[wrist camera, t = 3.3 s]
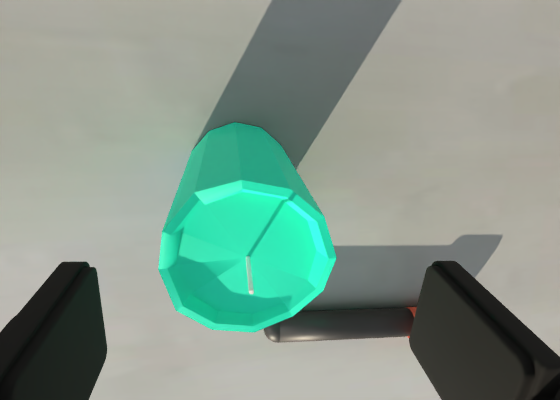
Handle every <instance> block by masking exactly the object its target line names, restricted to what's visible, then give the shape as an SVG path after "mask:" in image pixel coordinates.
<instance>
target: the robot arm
mask: <svg viewBox="0 0 560 400" xmlns="http://www.w3.org/2000/svg"><path fill="white" fill-rule="evenodd" d="M409 343H410V347H411V349H412V351H413V353H414V355H415V356H416V358H417V360H418V361H419V363H420V365H421V366H422V368H423V370H424V371H425V373H426V375H427V376H428V378H429V380H430V381H431V383H432V384H433V386H434V388H435V389H436V391H437V393H438V394H439V396H440V398H441V399H442V400H560V357H559V356H558V355H557V354H556V353H555V352H554V351H553V350H551V349H550V348H549V347H548V346H547V345H546V344H545V343H544V342H543V341H542V340H541V339H540V338H538V337H537V336H536V335H535V334H534V333H533V332H532V331H531V330H530V329H529V328H528V327H527V326H525V325H524V324H523V323H522V322H521V321H520V320H519V319H518V318H517V317H516V316H515V315H514V314H512V313H511V312H510V311H509V310H508V309H507V308H506V307H505V306H504V305H503V304H502V303H501V302H499V301H498V300H497V299H496V298H495V297H494V296H493V295H492V294H491V293H490V292H489V291H488V290H486V289H485V288H484V287H483V286H482V285H481V284H480V283H479V282H478V281H477V280H476V279H475V278H474V277H472V276H471V275H470V274H469V273H468V272H467V271H466V270H465V269H464V268H463V267H462V266H461V265H459V264H458V263H457V262H455V261H435V262H433V264H432V265H431V266H429V267H428V268H427V270H426V273H425V277H424V281H423V285H422V289H421V293H420V297H419V301H418V305H417V309H416V313H415V317H414V321H413V325H412V329H411V333H410V337H409ZM106 354H107V343H106V336H105V329H104V321H103V314H102V307H101V299H100V292H99V285H98V277H97V271H96V269H95V268H94V267H90V266H89V264H88V263H87V262H62V263H61V264H60V265H59V266H58V267H57V268H56V269H55V271H54V272H53V273H52V274H51V275H50V276H49V278H48V279H47V280H46V281H45V282H44V284H43V285H42V286H41V287H40V288H39V290H38V291H37V292H36V293H35V294H34V296H33V297H32V298H31V299H30V300H29V301H28V303H27V304H26V305H25V306H24V307H23V309H22V310H21V311H20V312H19V313H18V315H16V316H15V317H14V318H13V319H12V320H10V322H9V323H8V324H7V325H6V326H5V327H4V329H3V330H2V331H1V332H0V400H89V397H90V395H91V393H92V390H93V388H94V386H95V383H96V381H97V379H98V376H99V374H100V372H101V369H102V367H103V364H104V362H105V359H106Z"/></svg>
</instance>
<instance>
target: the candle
mask: <svg viewBox="0 0 560 400" xmlns="http://www.w3.org/2000/svg"><path fill="white" fill-rule="evenodd" d="M336 258H337V257H336V254H335V251H334V247H333V244H332V241H331V237H330V234H329V231H328V228H327V224H326V221H325V218H324V216H323V214H322V212H321V211H320V209H319V207H318V206H317V204H316V202H315V201H314V199H313V197H312V196H311V194H310V193H309V191H308V189H307V188H306V186H305V184H304V183H303V181H302V179H301V178H300V176H299V174H298V173H297V171H296V169H295V168H294V166H293V164H292V163H291V161H290V159H289V158H288V156H287V154H286V153H285V151H284V150H283V148H282V146H281V145H280V144H279V143H278V142H277V141H276V140H275V139H274V138H272V137H271V136H270V135H269V134H268V133H267V132H266V131H265V130H263V129H262V128H261V127H256V126H251V125H246V124H241V123H236V122H234V123H231V124H228V125H225V126H222V127H219V128H216V129H213V130H210V131H209V132H208V133H207V134H206V135H205V136H204V137H203V139H202V140H201V141H200V142H199V143H198V144H197V146H196V147H195V148H194V149H193V150H192V152H191V155H190V158H189V160H188V163H187V166H186V169H185V171H184V174H183V177H182V179H181V182H180V185H179V188H178V190H177V193H176V196H175V198H174V201H173V204H172V206H171V209H170V212H169V215H168V217H167V220H166V223H165V225H164V228H163V231H162V238H161V248H160V258H159V268H158V270H159V272H160V274H161V277H162V279H163V281H164V284H165V286H166V288H167V291H168V293H169V295H170V298H171V300H172V302H173V305H174V307H175V309H176V311H178V312H180V313H182V314H183V315H185V316H187V317H189V318H191V319H193V320H195V321H197V322H199V323H200V324H202V325H204V326H206V327H208V328H210V329H212V330H226V331H241V332H256V331H259V330H261V329H263V328H266V327H268V326H271V325H273V324H276V323H278V322H280V321H283V320H285V319H288V318H290V317H293V316H294V315H295V314H296V313H298V312H299V311H300V310H301V309H302V308H304V307H305V306H306V305H307V304H308V303H309V302H311V301H312V300H313V299H314V298H315V297H317V296H318V295H319V294H320V293H321V292H323V290H324V287H325V285H326V283H327V280H328V278H329V275H330V273H331V270H332V268H333V266H334V263H335V261H336Z"/></svg>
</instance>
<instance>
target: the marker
mask: <svg viewBox="0 0 560 400" xmlns="http://www.w3.org/2000/svg"><path fill="white" fill-rule="evenodd" d="M416 309H417V307H406V308H389V309H360V310H331V311H302V312H298V313H296V314H295V315H294V316H293V317H290V318H288V319H285V320H283V321H280V322H278V323H276V324H273V325H271V326H268V327H266V328H264V332H265V334H266V336H267V337H268V339H270V340H271V341H273V342H300V341H321V340H342V339H363V338H384V337H405V336H407V337H408V338H409V337H410V333H411V329H412V325H413V321H414V317H415V313H416Z"/></svg>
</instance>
